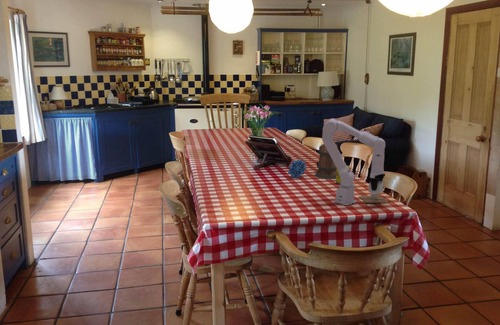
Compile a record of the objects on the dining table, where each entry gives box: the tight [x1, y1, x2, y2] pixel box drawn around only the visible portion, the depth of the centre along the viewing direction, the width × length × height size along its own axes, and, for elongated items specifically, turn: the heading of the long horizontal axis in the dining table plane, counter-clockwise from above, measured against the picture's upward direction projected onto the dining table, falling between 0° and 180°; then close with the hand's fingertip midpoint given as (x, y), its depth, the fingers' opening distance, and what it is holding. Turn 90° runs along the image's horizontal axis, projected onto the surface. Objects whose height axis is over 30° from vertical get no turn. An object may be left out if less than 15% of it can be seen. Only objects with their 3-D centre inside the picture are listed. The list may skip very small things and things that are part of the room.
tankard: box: [314, 143, 339, 180], centre depth 289 cm, size 24×17×20 cm
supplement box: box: [335, 164, 351, 185], centre depth 269 cm, size 6×6×11 cm
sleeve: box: [368, 181, 385, 195], centre depth 229 cm, size 6×6×5 cm
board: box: [358, 192, 390, 204], centre depth 239 cm, size 12×12×4 cm
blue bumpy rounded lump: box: [287, 158, 308, 179], centre depth 282 cm, size 12×7×12 cm, turn 98°
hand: (375, 188), depth 230 cm, fingers closed on sleeve, 6 cm apart
